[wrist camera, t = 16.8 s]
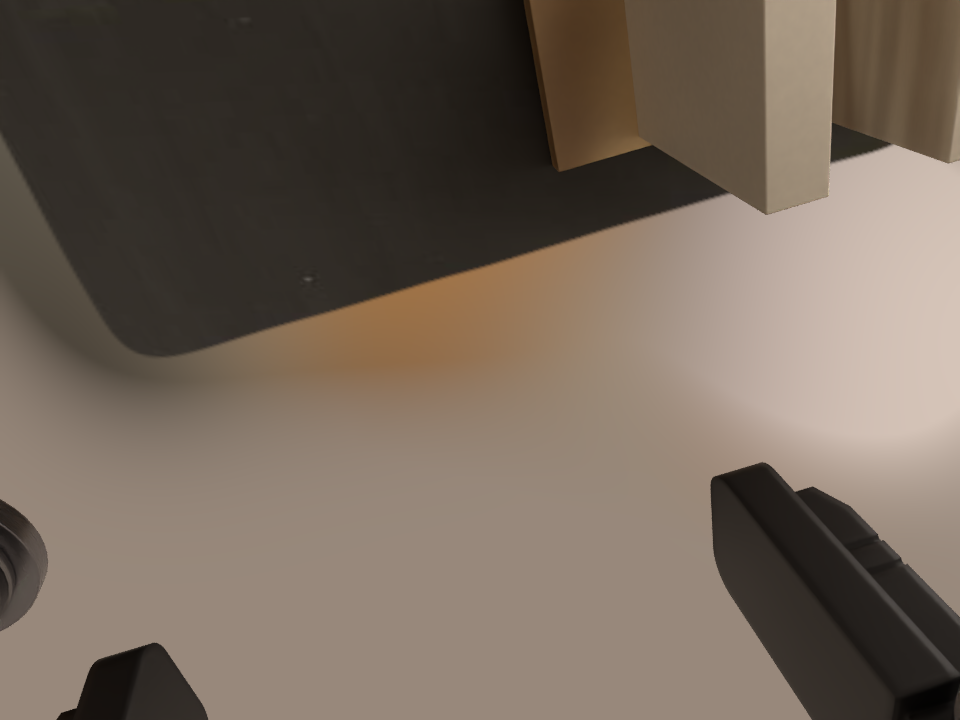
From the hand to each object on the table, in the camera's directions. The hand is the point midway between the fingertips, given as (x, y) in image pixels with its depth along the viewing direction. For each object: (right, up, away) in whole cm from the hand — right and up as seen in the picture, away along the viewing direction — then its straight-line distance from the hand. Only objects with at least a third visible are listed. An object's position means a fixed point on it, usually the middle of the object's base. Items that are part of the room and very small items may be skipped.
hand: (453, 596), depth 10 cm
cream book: (+8, +18, +23) cm, 30 cm away
